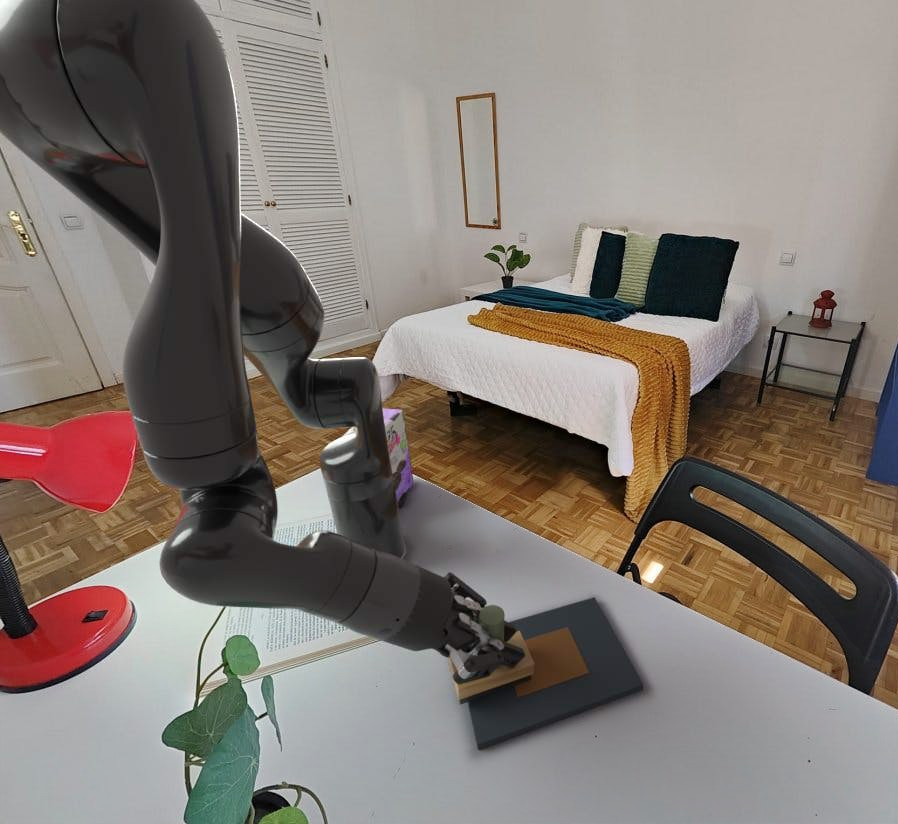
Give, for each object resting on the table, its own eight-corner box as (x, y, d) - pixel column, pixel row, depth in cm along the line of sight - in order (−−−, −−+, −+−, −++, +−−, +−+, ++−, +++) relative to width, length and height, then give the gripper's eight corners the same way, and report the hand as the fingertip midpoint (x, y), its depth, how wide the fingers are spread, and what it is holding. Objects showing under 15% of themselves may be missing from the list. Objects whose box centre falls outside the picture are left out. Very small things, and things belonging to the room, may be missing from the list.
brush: (448, 669, 59) (446, 608, 55) (518, 647, 63) (522, 588, 58) (458, 707, 55) (457, 644, 51) (533, 681, 59) (538, 620, 54)
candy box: (379, 529, 84) (363, 447, 77) (348, 525, 85) (329, 443, 78) (415, 483, 96) (404, 408, 89) (387, 480, 97) (374, 405, 90)
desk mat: (454, 643, 64) (454, 637, 64) (594, 601, 70) (594, 596, 70) (477, 750, 53) (477, 744, 52) (643, 689, 59) (644, 683, 58)
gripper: (427, 629, 43) (557, 676, 52) (410, 528, 54) (519, 581, 64) (372, 688, 43) (510, 724, 53) (367, 576, 55) (481, 621, 64)
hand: (514, 645), depth 58 cm, fingers closed on brush, 3 cm apart
